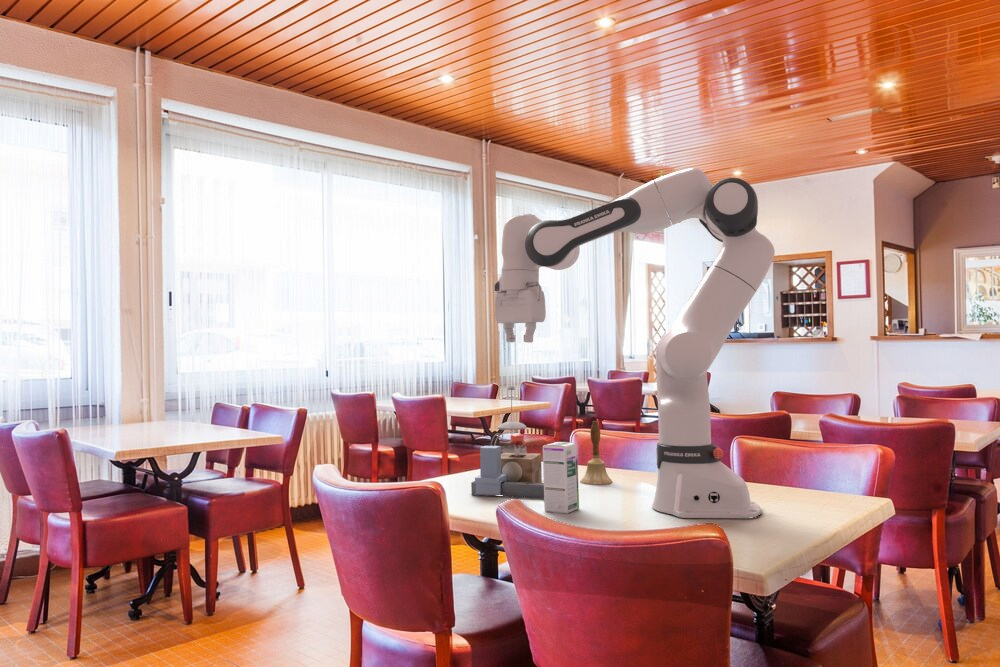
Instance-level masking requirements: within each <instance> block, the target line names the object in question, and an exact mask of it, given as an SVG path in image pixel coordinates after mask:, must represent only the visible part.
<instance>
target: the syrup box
mask: <svg viewBox="0 0 1000 667" xmlns="http://www.w3.org/2000/svg"><path fill="white" fill-rule="evenodd" d="M578 462H579V461H578V444H577V443H575V442H570V441H554V442H553V443H548V444H544V445H543V446H542V469H543V472H542V473H543V474H542V475H543V476H542V478H543V483H544V498H543V499H544V500H543V502H544V505H543V506H544V511H545V512H550V513H555V514H556V513H558V514H566V515H567V514H569V513H571V512H573V511H576V510H578V509H580V498H579V497H580V494H579V469H578V468H579V463H578Z"/></svg>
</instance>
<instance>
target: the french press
mask: <svg viewBox="0 0 1000 667" xmlns="http://www.w3.org/2000/svg"><path fill="white" fill-rule="evenodd" d="M507 390H508V391H510V393H511V394H510V403H511V404H510V406H511V407H510V412H511V420H509V421H505V422H503V423H501V424H499V425H498V426H497V427H496V428H497V429H498V430H499V431H500V430H501V431H516V430H517V431H518V430H520V431H521V430H525V429H527V425H525V424H524V423H523V422H520V421H514V420H513V391H515V390H516V387H515V386H514V385H509V386H508V388H507ZM501 435H502V436H501ZM496 436H497V437H496ZM495 437H496V439H495V442H494V444H493V441H494V438H495ZM503 438H504V433H499V432H497V433H496V434H494V436H493V437H492V439H491V441H490V446H496V444H497V441H498V439H503ZM499 444H500V446H501V454H502V453H515V444H511V439H503V440H500V441H499ZM524 444H526V441H525V440H524ZM520 453H528V451H527V446H526V445H520Z"/></svg>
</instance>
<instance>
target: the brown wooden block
mask: <svg viewBox="0 0 1000 667" xmlns="http://www.w3.org/2000/svg"><path fill="white" fill-rule="evenodd" d="M542 469H543V466H542V453H528V452H527V453H520V457H515V453H502V454H501V474H507V479H506V482H530V483H543V482H542V481H543V480H542V478H543V476H542V475H543V474H542V473H543V472H542Z"/></svg>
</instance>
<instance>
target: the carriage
mask: <svg viewBox="0 0 1000 667" xmlns="http://www.w3.org/2000/svg"><path fill="white" fill-rule="evenodd" d="M501 446H502V445H495V446H494V445H492V446H491V445H484V446H481V447H479V450H480V453H479V458H480V461H479V462H480V463H479V464H480V465H479V466H480V474H479V475H478V476H475V477H474V481H475V483H476V494H482V495H481V496H483V495H501V482H503V481H504V482H506V479H507V474H501V452H502V450H501Z"/></svg>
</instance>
